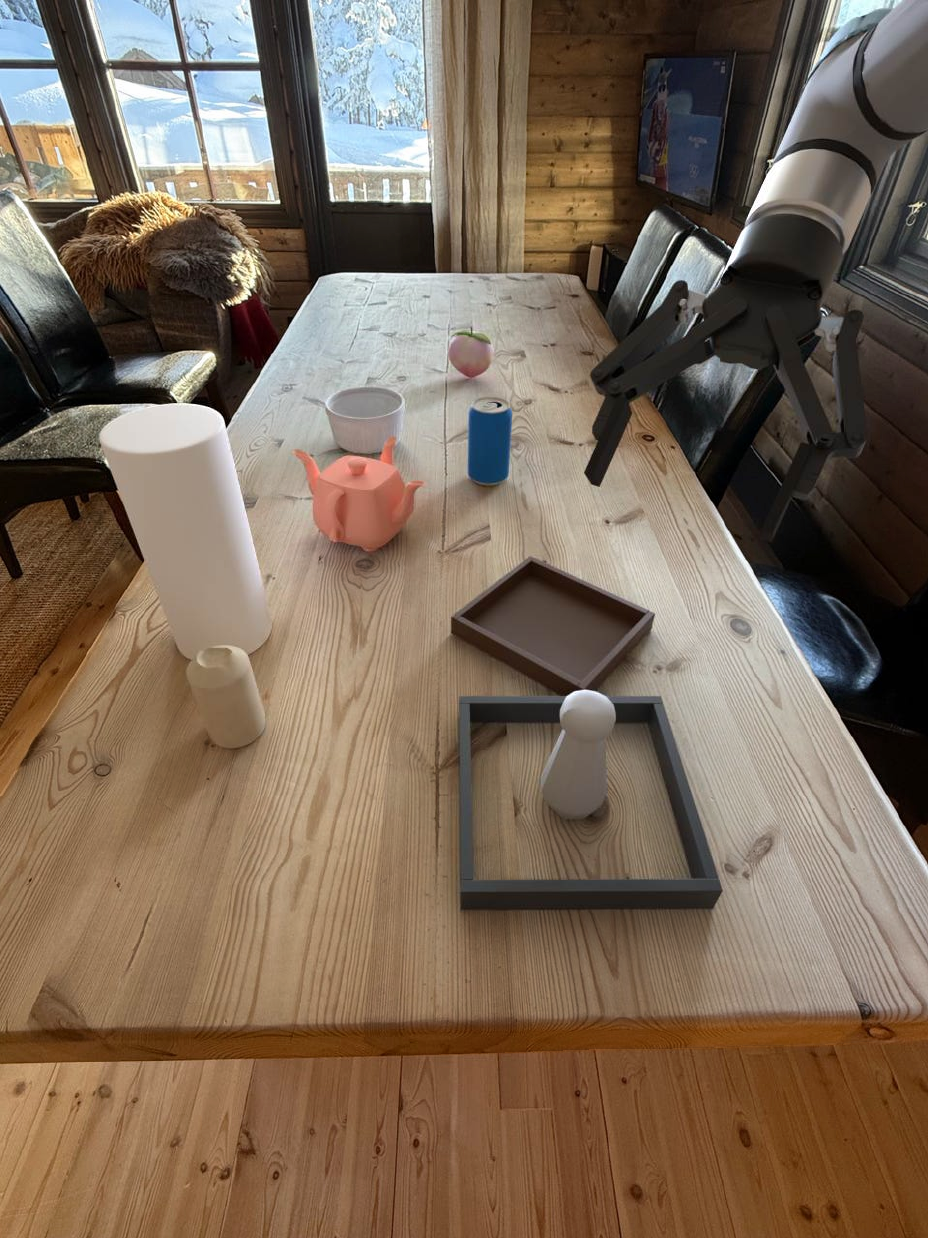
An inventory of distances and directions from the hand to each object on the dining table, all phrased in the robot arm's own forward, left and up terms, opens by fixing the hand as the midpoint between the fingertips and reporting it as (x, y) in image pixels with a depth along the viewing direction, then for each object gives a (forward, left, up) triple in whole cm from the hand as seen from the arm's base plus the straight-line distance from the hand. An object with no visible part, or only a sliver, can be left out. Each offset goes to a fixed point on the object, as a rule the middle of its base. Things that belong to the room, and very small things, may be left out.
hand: (674, 506), depth 49 cm
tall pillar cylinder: (+42, +17, -26) cm, 52 cm away
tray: (+13, -8, -25) cm, 30 cm away
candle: (+29, +24, -26) cm, 46 cm away
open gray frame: (-1, +10, -25) cm, 28 cm away
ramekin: (+65, -29, -26) cm, 75 cm away
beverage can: (+41, -32, -26) cm, 58 cm away
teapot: (+45, -9, -26) cm, 53 cm away
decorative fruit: (+70, -63, -26) cm, 97 cm away
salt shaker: (-1, +10, -26) cm, 28 cm away
